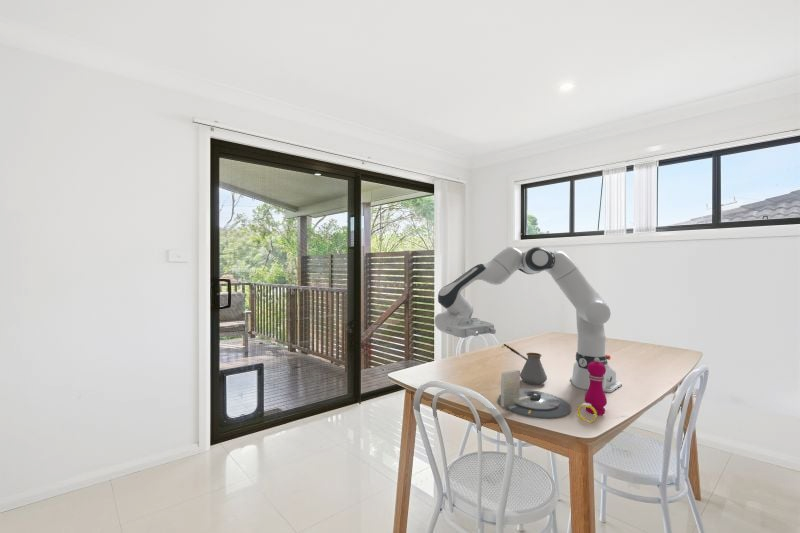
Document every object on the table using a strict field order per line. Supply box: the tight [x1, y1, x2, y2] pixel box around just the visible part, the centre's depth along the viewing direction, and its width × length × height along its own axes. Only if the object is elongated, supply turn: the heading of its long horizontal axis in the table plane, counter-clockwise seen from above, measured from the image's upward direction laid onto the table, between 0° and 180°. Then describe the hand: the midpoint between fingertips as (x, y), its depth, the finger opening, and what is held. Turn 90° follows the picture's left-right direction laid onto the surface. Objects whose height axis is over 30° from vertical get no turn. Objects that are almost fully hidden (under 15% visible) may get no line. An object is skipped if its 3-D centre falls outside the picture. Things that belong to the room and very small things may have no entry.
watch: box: [577, 402, 598, 423], centre depth 131 cm, size 6×3×6 cm, turn 46°
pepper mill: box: [584, 358, 608, 416], centre depth 139 cm, size 7×7×20 cm
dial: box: [500, 369, 559, 411], centre depth 143 cm, size 26×18×13 cm
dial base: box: [498, 392, 572, 420], centre depth 145 cm, size 26×26×1 cm
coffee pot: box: [501, 343, 548, 386], centre depth 174 cm, size 21×12×15 cm, turn 45°
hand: (485, 332), depth 150 cm, fingers open, 8 cm apart
